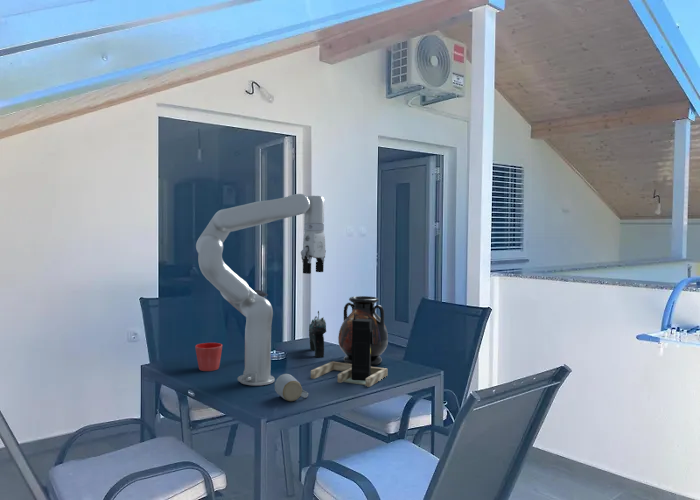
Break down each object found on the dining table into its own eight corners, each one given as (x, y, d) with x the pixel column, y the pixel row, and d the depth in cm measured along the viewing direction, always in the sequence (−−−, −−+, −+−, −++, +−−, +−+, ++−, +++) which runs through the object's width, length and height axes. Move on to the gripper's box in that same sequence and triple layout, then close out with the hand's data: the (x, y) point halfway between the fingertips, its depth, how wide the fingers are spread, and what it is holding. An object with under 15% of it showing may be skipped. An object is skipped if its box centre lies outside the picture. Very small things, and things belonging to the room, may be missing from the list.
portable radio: (373, 377, 220) (374, 312, 219) (371, 381, 214) (372, 315, 213) (353, 375, 221) (354, 311, 221) (350, 379, 215) (351, 314, 215)
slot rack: (369, 386, 207) (369, 378, 207) (310, 378, 218) (310, 370, 218) (387, 376, 223) (387, 368, 223) (332, 368, 234) (332, 361, 234)
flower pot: (189, 370, 226) (189, 346, 226) (204, 364, 236) (204, 341, 236) (213, 373, 223) (213, 348, 222) (227, 367, 233) (227, 343, 233)
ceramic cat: (326, 358, 253) (327, 313, 252) (312, 358, 251) (313, 313, 251) (319, 348, 272) (319, 307, 271) (305, 349, 271) (306, 307, 270)
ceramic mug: (282, 403, 186) (283, 380, 186) (273, 396, 193) (274, 374, 193) (312, 400, 191) (313, 377, 191) (302, 393, 198) (303, 371, 198)
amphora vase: (395, 360, 251) (396, 297, 250) (374, 370, 231) (376, 302, 230) (351, 354, 260) (353, 293, 259) (328, 364, 241) (329, 298, 240)
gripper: (311, 228, 209) (310, 274, 209) (333, 228, 224) (332, 271, 225) (293, 227, 212) (293, 273, 213) (316, 228, 228) (315, 271, 228)
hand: (313, 272), depth 219 cm, fingers open, 9 cm apart
